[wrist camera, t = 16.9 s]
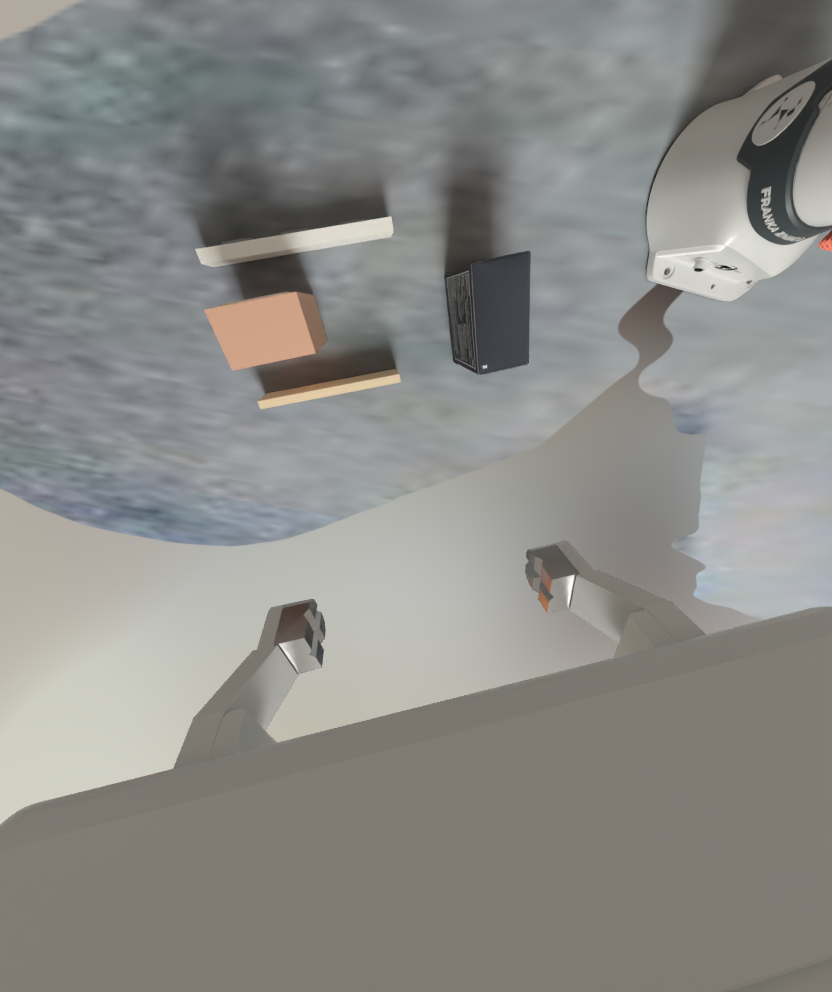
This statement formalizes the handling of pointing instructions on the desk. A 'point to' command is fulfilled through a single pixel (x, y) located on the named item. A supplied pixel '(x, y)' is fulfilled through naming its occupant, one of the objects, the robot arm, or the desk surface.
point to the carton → (268, 328)
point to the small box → (490, 313)
